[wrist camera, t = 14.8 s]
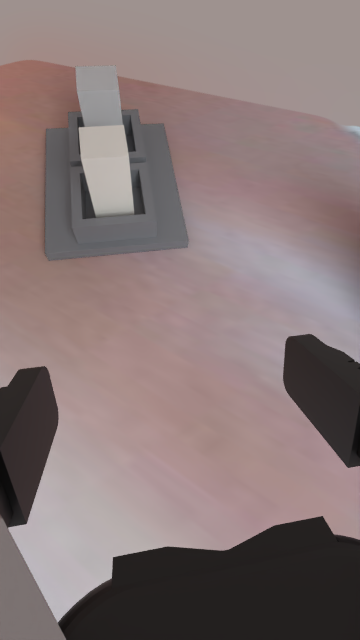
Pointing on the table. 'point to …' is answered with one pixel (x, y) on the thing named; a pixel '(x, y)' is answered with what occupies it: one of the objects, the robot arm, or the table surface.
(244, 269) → the table surface
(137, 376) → the table surface
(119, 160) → the tall white pillar
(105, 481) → the table surface
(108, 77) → the housing
